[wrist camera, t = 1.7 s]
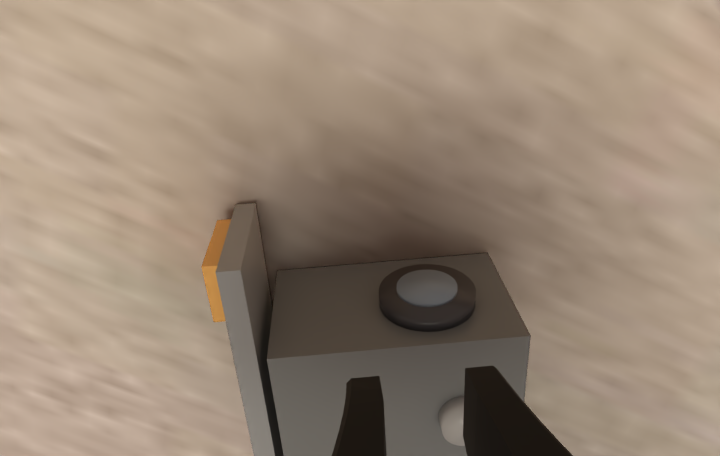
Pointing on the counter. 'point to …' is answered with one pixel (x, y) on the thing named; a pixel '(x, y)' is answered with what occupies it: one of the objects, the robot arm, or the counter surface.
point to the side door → (245, 317)
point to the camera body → (390, 348)
